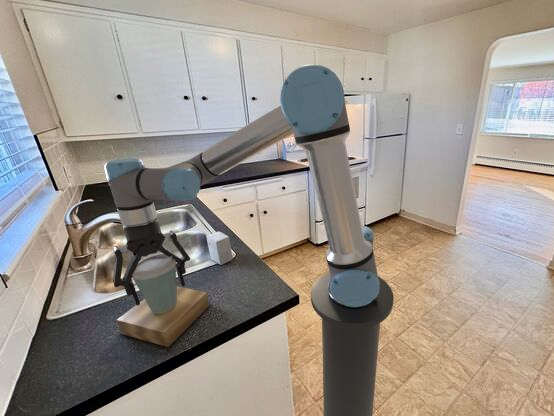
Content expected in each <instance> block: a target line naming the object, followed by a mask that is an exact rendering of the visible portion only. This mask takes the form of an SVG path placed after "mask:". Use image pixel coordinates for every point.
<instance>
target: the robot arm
mask: <svg viewBox="0 0 554 416" xmlns="http://www.w3.org/2000/svg"><path fill="white" fill-rule="evenodd" d="M279 101H280V103H279V105H278V106H276V107H274V108H272V109H271V110H269V111H268V112H266V113H265V114H263V115H261V116H260V117H257V118H255V119H254V120H253V121H251V122H249V123H248V124H246V125H244V126H242V127H241V128H240V129H238V130H236V131H234V132H232V133H231V134H230V135H227V137H225V138H223V139H221V140H219V141H217V142H216V143H215V144H213V145H211V146H209V147H208V148H207V149H204V150H203V151H202V152H200V153H198V154H196V155H194V156H193V157H191V158H189V159H187V160H184V161H182V162H179V163H176V164H173V165H170V166H168V167H156V168H155V167H154V168H153V167H146V165H145V164H144V161H143V160H142V159H141V158H138V157H126V158H117V159H112V160H109V161H107V162H106V163H105V164H104V172H105V176H106V182H107V183H108V186H109V188H110V192H111V194H112V197H113V201H114V204H115V207H116V210H117V214H118V217H119V220H120V223H121V225H122V230H123V232H124V236H125V240H126V243H125V245H122V246H114V247H112V251H113V253H114V265H113V274H112V284H113V287H114V288H119V287H123V288H124V290H125V291H124V292H125V294H126V295H127V296H128V297H129V296H133V300H134V302H135V306H136V305H137V306H138V305H140V302H141V301H140V299H139V297H138V293H137V290H136V287H135V284H134V282H133V278H132V277H133V276H132V274H133V273H134V271H135V270H136V267H137V265H138V263H139V261H140V260H141V259H142V257H144V258H146V257H148V256H150V255H154V254H158V252H159V253H163V254H165V255H166V256H168V257H170V256H172V258H173V259H175V261H176V265H175V267H176V276H177V279H178V283H179V284H180V285H181V287H182V288H184V287H185V286H186V283H185V279H184V275H185V274H186V273H187V270H186V267H185V266H186V263H187V262H189V261H190V260H191V257H190V255H189V254H188V253H187V251H186V250H185V248H184V247H183V246H182V244H181V243H180V242H179V240H178V236H177V234H176V232H174V231H173V230H170V231H168V232H167V233H163V232H162V229H161V225H160V221H159V219H158V218H157V217H158V214H157V210H156V207H155V203H154V201H173V202H183V201H192V200H194V199H196V198H197V196H198V194H199V193H200V190H201V187H202V186H204V185H205V184H208V183H209V182H212V181H213V180H214V179H216V178H218V177H219V176H221V175H223V174H225V173H227V172H228V171H230V170H231V169H233V168H235V167H237V166H239V165H241V164H242V163H244V162H245V161H248V160H249V159H251V158H253V157H254V156H257V155H259V154H260V153H262V152H263V151H265V150H267V149H269V148H271V147H273V146H274V145H276V144H278V143H280V142H281V141H283V140H285V139H287V138H289V137H290V136H292V135H293V137H294V141H295V144H296V146H297V147H298V148H301V149H302V150H304V152H305V154H306V159H307V164H308V167H309V171H310V175H311V179H312V183H313V187H314V191H315V194H316V198H317V202H318V206H319V211H320V213H321V218H322V222H323V227H324V231H325V234H326V238H327V243H328V246H329V247H327V249H326V251H325V259H326V263H327V268H328V271H329V272H330V276H331V280H330V282H329V283H328V289H327V290H328V295H329V297H330V299H331V300H332V301H333V302H334V303H335V304H337V305H339V306H341V307H344V308H348V309H359V308H363V307H366V306H368V305H370V304H371V303H372V302H373V301H374V302H375V303H377V302H378V301H377V300H376V299H375V298H376V297H377V295H378V293H379V286H380V281H379V278H378V276H379V274H378V270H377V264H376V258H375V253H374V240H375V237H374V231H373V229H372V228H370V227H368V226H365V225H362V220H361V216H360V215H361V214H360V211H359V206H358V201H357V195H356V191H355V185H354V180H353V176H352V175H353V174H352V169H351V165H350V160H349V155H348V150H347V147H346V146H347V145H346V141H347V138H348V137H349V135H350V133H351V127H350V122H349V116H348V111H347V106H346V105H347V104H346V99H345V91H344V86H343V83H342V82H341V80H340V79H339V77H338V75H337V74H336V73H335V72H334V71H332V70H331V69H330V68H328V67H326V66H324V65H321V64H305V65H302V66H299V67H297V68H295V69H294V70H293V71H291V72H290V73H289V74H288V75H287V77H286V78H285V80H284V82H283V83H282V87H281V89H280V96H279ZM166 239H167V240H168V241H169V242H171V243H172V244H173V246H174V247H175V248H176V250H177V251H178V252H179V253H180V255H181V257H180V256H178V255H176V254H175V253H174V252H172V251H171V250H169V249H168V248H167V247H165V246H164V245H163V244H164V242H165V240H166ZM127 251H129V252H131V253H132V254H131V257H130V259H129V262H128V265H127V267H126V269H125V272H124V274H123V277H122V272H123V263H124V256H125V255H126V252H127Z"/></svg>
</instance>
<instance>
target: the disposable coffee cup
mask: <svg viewBox="0 0 554 416" xmlns="http://www.w3.org/2000/svg"><path fill="white" fill-rule="evenodd" d="M175 265H176V261H175V259H173V258H172V256H170V257H168V256H166V255H165V254H163V253H162V252H159V253H158V252H157V253H154V254H149V255H148V256H145V257H144V258H141V260H140V261H139V263H138V265H137V267H136V270H135V271H134V273H133V274H132V276H133V277H132V280H133V281H134V283H135V285H136V286H137V288H138V291H139V292H140V293H141V295H142V297H143V300H144V299H145V301H146V303H147V304H148V306H149V308H150V310H151V311H152V312H154V313H155V314H162V313H166V312H168V311H170V310H172V309H173V308H174V307H175V306H176V304H177V300H178V297H177V286H178V285H177V271H176V267H175Z"/></svg>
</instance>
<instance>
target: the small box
mask: <svg viewBox="0 0 554 416" xmlns="http://www.w3.org/2000/svg"><path fill="white" fill-rule="evenodd" d="M229 236H230V235H229ZM229 236H228V235H226V234H225V233H223V232H221V231H216V232H213V233H211V234H208V235H206V236H205V238H206V241H207V247H208V251H209V252H208V253H209V257H210V259H211V260H213V261H214V262H215V263H217V264H218V265H219V266H222V265H224V264H226V263H228V262H231V261H233V260H234V257H233V252H232V246H231V240H230V237H229Z"/></svg>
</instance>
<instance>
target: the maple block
mask: <svg viewBox="0 0 554 416" xmlns="http://www.w3.org/2000/svg"><path fill="white" fill-rule="evenodd" d="M177 297H178V300H177V304H176V306H175V307H174V308H173V309H172V310H170V311H168V312H166V313H162V314H155V313H154V312H152V311H151V310H150V308H149V306H148V304H147V303H146V301H145V299H144V298H143V300H141V301H139V302H140V305H138V306H137V305H136V304H135V305H134V306H133V307H131V308H130V309H129V310H128V311H126V312H125V313H124V314H122V315H121V316H120V317H118V318H116V323H117V325H118V328H119V331H120V333H121V335H124V336H128V337H130V338H131V337H132V338H135V339H138V340H142V341H146V342H149V343H153V344H156V345H159V346H162V347H163V346H164V347H166V348H169V347H171V345H172V344H174V342H176V340H177V339H179V337H180V336H181V335H182V334H183V333H184V332H185V331H186V330H187V329H188V328H189V327H190V326H191V325H192V324H193V323H194V322H195V321H196V320H197V319H198V318H199V317H200V316H201V315H202V314H203V313H204V312H205V311H206V310H207V309H208V308H209V306H210V302H209V297H208V292H206V291H202V290H197V289H192V288H186V287H182V286H178V285H177Z"/></svg>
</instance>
